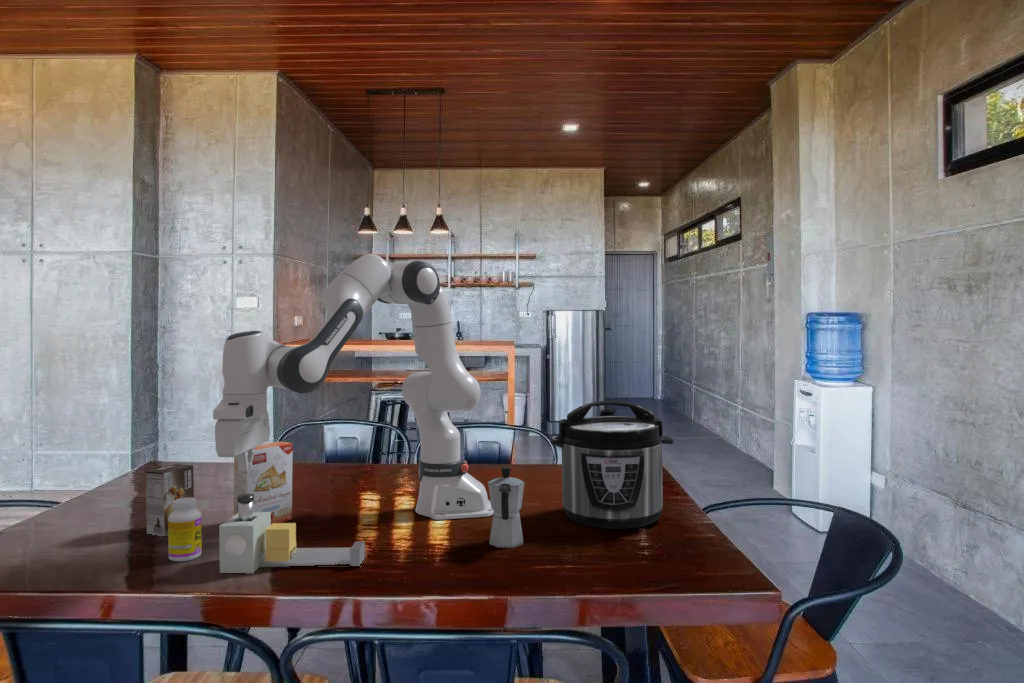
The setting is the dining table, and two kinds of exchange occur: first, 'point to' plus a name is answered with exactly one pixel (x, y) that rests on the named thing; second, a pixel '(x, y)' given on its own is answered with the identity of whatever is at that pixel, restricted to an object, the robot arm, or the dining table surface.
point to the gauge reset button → (245, 507)
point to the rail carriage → (280, 541)
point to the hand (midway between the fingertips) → (245, 470)
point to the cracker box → (268, 481)
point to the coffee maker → (506, 510)
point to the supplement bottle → (184, 530)
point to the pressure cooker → (612, 466)
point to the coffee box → (166, 494)
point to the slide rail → (320, 556)
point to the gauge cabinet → (243, 543)
